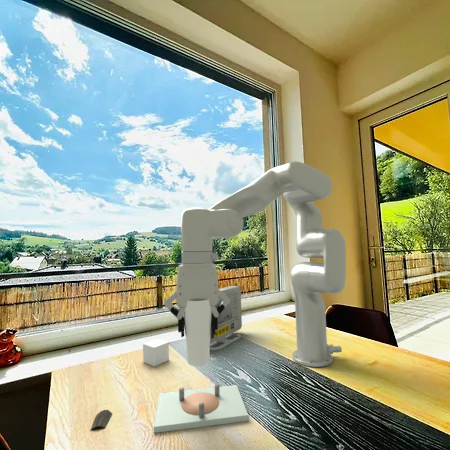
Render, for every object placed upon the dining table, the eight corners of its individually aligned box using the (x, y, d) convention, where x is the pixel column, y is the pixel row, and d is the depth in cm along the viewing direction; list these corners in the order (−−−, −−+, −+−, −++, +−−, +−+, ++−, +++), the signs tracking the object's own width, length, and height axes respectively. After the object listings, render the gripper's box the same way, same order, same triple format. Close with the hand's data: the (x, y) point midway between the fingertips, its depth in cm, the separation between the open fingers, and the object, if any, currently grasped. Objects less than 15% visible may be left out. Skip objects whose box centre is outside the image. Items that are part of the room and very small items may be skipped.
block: (90, 437, 58) (88, 429, 58) (97, 418, 64) (95, 410, 64) (108, 432, 59) (106, 424, 59) (113, 413, 65) (112, 406, 64)
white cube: (143, 362, 92) (142, 343, 92) (157, 356, 96) (157, 338, 97) (154, 366, 88) (154, 347, 88) (169, 360, 93) (168, 341, 93)
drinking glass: (184, 357, 68) (184, 296, 69) (212, 356, 69) (211, 295, 70) (183, 369, 61) (182, 301, 63) (213, 368, 62) (212, 300, 63)
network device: (230, 330, 122) (229, 285, 124) (247, 333, 117) (245, 286, 119) (191, 349, 102) (190, 294, 103) (209, 354, 96) (208, 296, 98)
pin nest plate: (236, 389, 73) (236, 375, 73) (248, 420, 60) (247, 403, 60) (159, 398, 69) (159, 383, 70) (153, 432, 57) (153, 414, 57)
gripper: (229, 257, 72) (231, 327, 71) (161, 259, 69) (162, 331, 68) (234, 258, 65) (236, 336, 63) (159, 260, 62) (159, 342, 61)
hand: (198, 333), depth 66 cm, fingers closed on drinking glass, 6 cm apart
